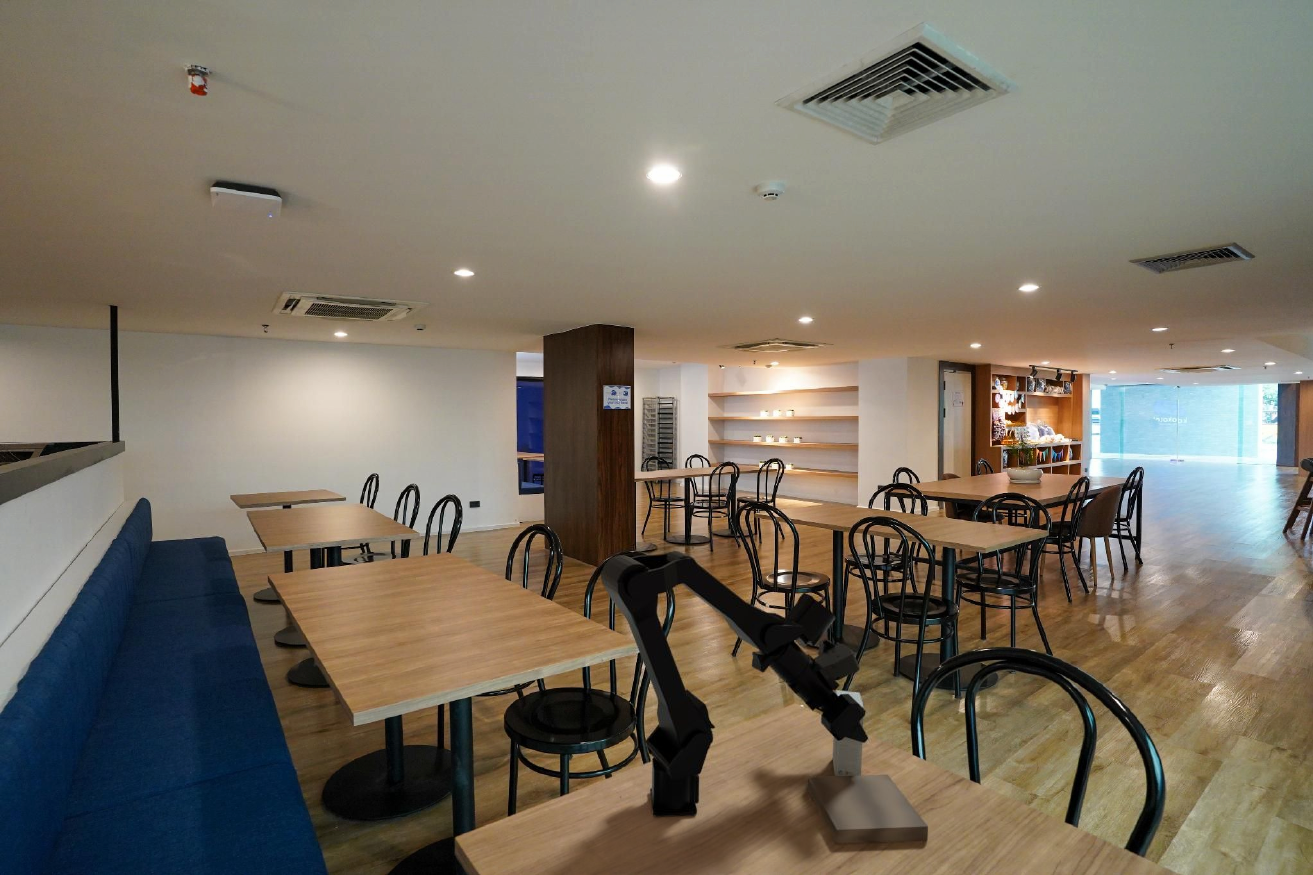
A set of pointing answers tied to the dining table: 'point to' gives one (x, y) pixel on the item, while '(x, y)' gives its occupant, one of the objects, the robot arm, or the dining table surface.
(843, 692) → the skincare box
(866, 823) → the walnut plinth
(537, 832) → the dining table surface
